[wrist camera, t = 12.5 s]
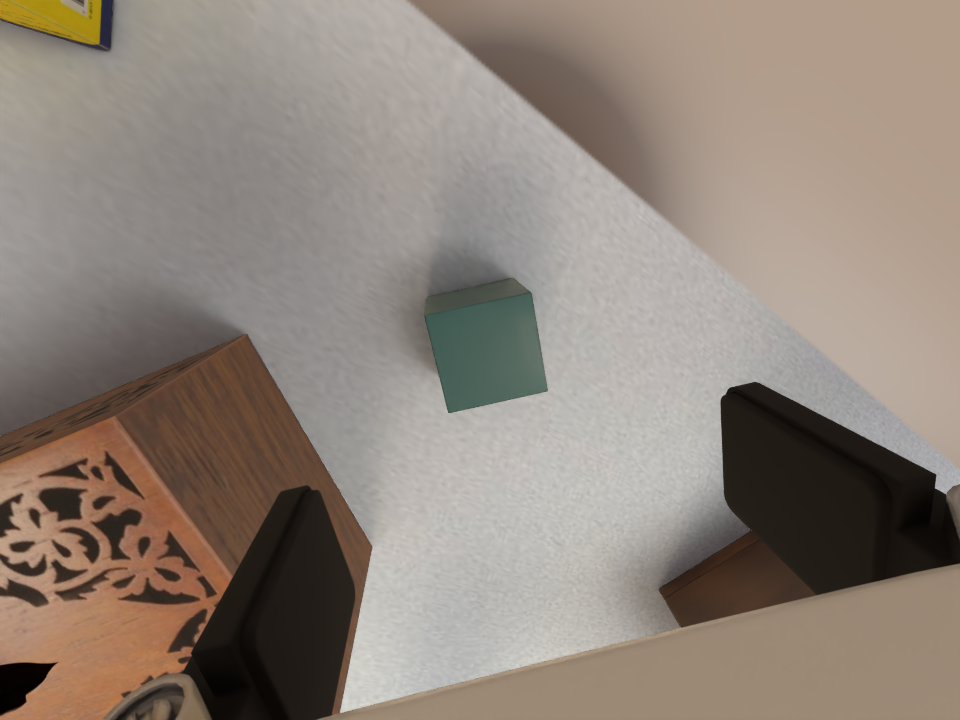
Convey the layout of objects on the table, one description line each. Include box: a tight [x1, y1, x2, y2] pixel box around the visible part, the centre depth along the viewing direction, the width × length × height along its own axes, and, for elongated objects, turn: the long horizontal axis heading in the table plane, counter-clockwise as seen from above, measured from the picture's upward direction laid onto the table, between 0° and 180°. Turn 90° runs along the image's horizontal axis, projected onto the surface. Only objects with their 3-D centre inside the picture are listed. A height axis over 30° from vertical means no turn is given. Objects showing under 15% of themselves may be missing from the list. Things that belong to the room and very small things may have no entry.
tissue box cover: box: [0, 334, 372, 720], centre depth 21 cm, size 26×14×10 cm, turn 112°
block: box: [425, 278, 548, 413], centre depth 22 cm, size 5×5×5 cm
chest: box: [659, 531, 816, 628], centre depth 28 cm, size 14×13×8 cm
